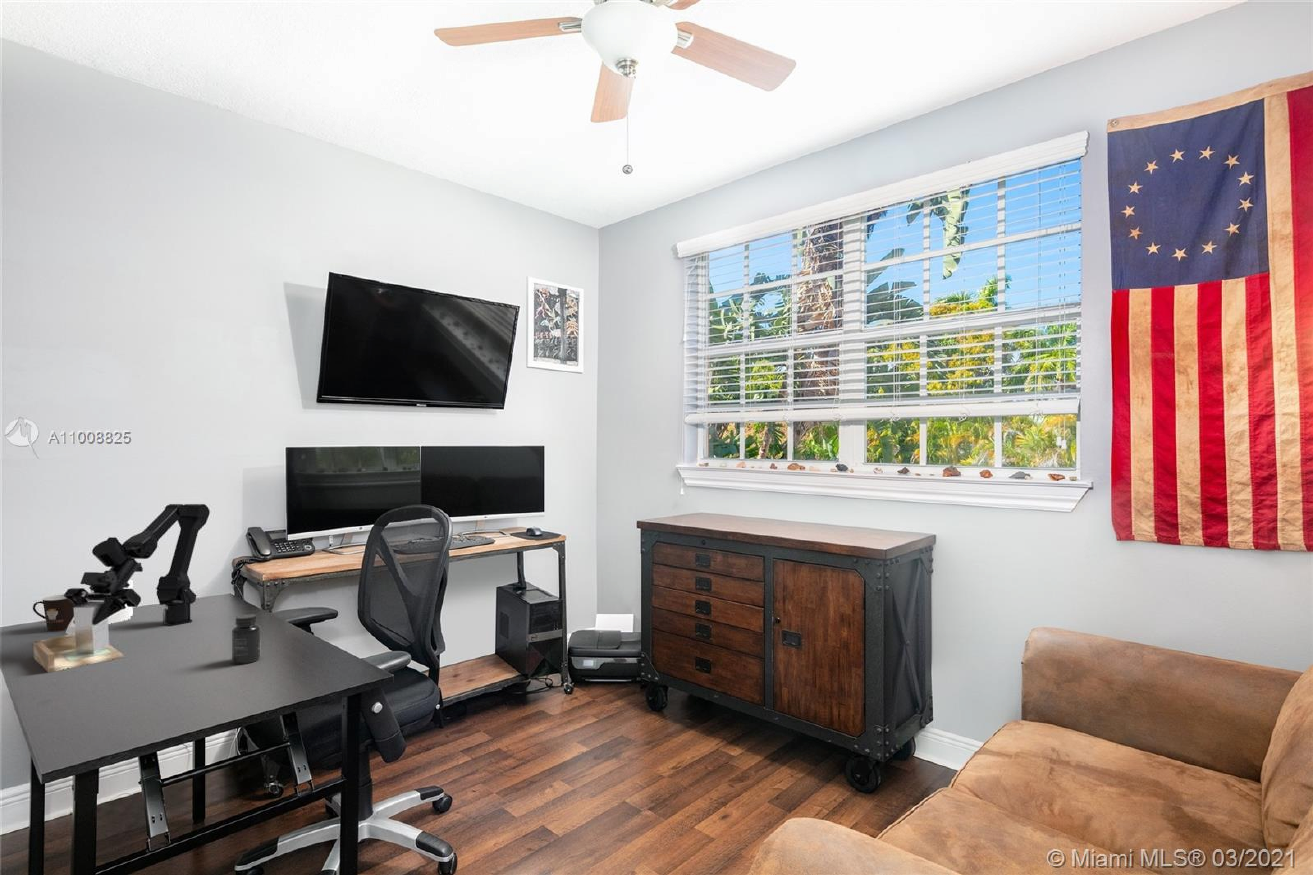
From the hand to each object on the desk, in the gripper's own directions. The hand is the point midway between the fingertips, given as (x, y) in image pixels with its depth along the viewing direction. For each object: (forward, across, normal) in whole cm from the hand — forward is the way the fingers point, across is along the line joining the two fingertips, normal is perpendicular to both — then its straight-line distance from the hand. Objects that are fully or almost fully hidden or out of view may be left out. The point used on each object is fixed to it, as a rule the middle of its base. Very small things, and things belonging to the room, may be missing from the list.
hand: (84, 624), depth 185 cm
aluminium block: (+4, 0, +8) cm, 9 cm away
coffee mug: (-13, -33, +25) cm, 43 cm away
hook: (-3, -16, +16) cm, 23 cm away
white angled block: (-21, -25, +33) cm, 46 cm away
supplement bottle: (+8, +47, +6) cm, 48 cm away
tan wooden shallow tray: (+7, -1, +6) cm, 9 cm away
